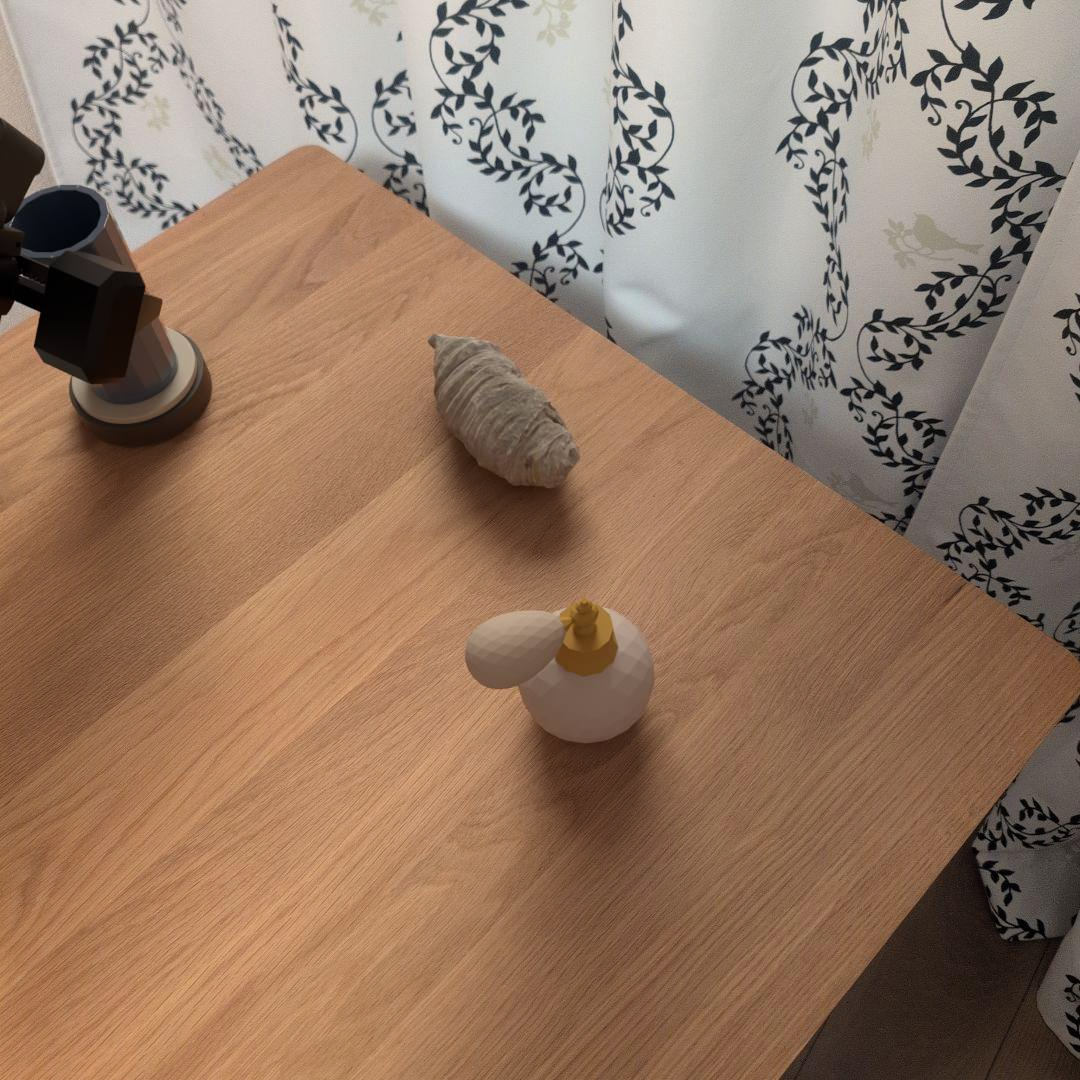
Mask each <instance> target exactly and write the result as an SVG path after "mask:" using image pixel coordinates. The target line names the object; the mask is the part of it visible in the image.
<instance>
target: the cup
mask: <svg viewBox="0 0 1080 1080" xmlns="http://www.w3.org/2000/svg"><path fill="white" fill-rule="evenodd" d="M4 226H6V227H13V228H15V229H17V230H20V231H22V232H24V238H23V244H22V249H21V254H22V255H24V256H27V257H29V258H31V259H34V260H36V261H38V262H41V263H43V264H45V265H48V266H50V265H51V264H52V263H53V262H54V261H55V260H56V259H57V258H58V257H59V256H60V255H62V254H63V253H64V252H65V251H66V250H72V251H81V252H85V253H89V254H93V253H94V254H97V255H99V256H102V257H104V258H106V259H109V260H111V261H113V262H116V263H118V264H121V265H123V266H125V267H127V268H130V269H132V270H134V271H137V272H139V273H140V274H141V271H140V269H139V267H138V265H137V263H136V261H135V258H134V256H133V255H132V252H131V250H130V248H129V246H128V243H127V241H126V239H125V237H124V235H123V232H122V230H121V228H120V226H119V224H118V222H117V220H116V217H115V215H114V213H113V211H112V208H111V207H110V204H109V203H108V200H107V199H106V198H105V197H104V196H103V195H102V194H101V193H100V192H99V191H98V190H96V189H94V188H91V187H88V186H85V185H81V184H57V185H53V186H50V187H46V188H43V189H39V190H37V191H35V192H33V193H31V194H30V195H28V196H25V197H24V199H23V201H22V203H21V205H20V207H19V209H18V211H17V213H16V215H15V216H14V218H13V219H12V220H11V221H10V222H8V223H6V224H4ZM141 277H142V279H143V281H144V284H145V286H146V288H145V292H144V293H147V294H150V295H151V293H150V291H149V289H148V287H147V284H146V282H145V280H144V278H143V276H142V274H141ZM25 278H27V279H28V277H25ZM30 280H32V281H34V279H30ZM34 282H35V281H34ZM36 283H39V282H36ZM39 284H40V283H39ZM41 285H43V286H45V284H41ZM165 327H166V326H165V323H164V321H163V319H162V317H161V314H160V315H159V316H158V317H157V318H156V319H155V320H154V321H152V322H151V323H150V324H149V325H147V326H146V327H145V328H144V329H143V330H141V331H140V332H139V333H138V334H136V335H135V336H134V341H133V345H132V350H131V354H130V359H129V363H128V368H127V372H126V376H125V378H123V379H122V380H120V381H118V382H117V383H112V384H89V383H87V382H86V383H87V384H88V385H89V387H90V389H91V390H92V392H93V393H94V394H95V395H96V396H97V397H99V398H100V399H102V400H104V401H106V402H109V403H113V404H121V405H125V404H135V403H139V402H142V401H145V400H148V399H150V398H152V397H154V396H155V395H157V394H159V393H160V392H161V391H163V390H164V389H165V388H166V387H167V386H168V385H169V384H170V383H171V381H172V380H173V378H174V376H175V374H176V372H177V368H178V356H177V353H176V351H175V349H174V345H173V343H172V340H171V338H170V336H169V334H168V332H167V330H166V328H165Z"/></svg>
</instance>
